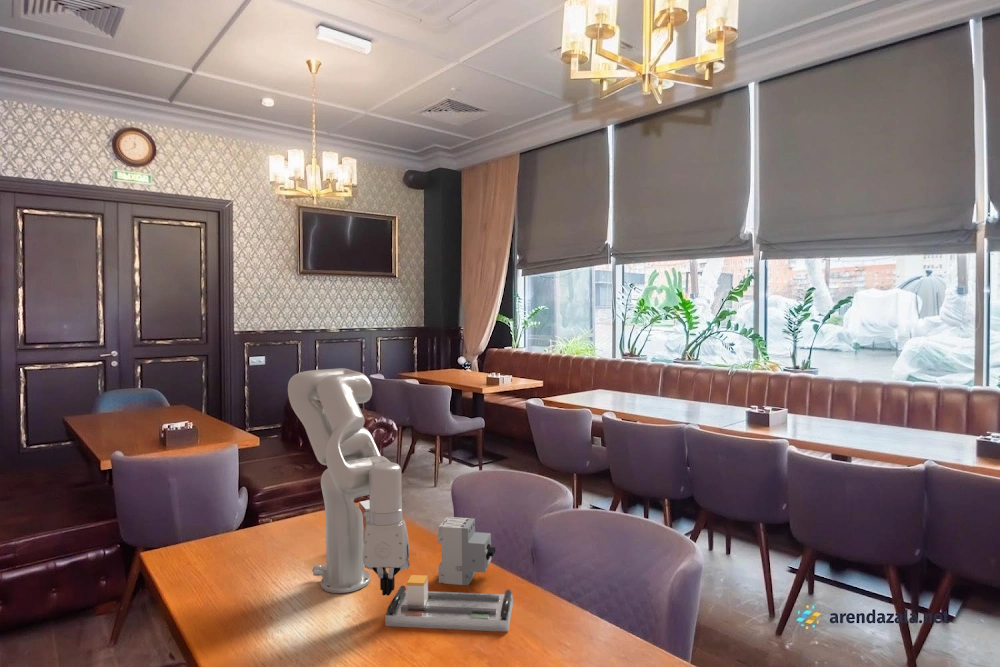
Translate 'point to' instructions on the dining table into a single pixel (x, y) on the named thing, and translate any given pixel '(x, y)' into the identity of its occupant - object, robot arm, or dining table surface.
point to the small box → (363, 507)
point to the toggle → (417, 590)
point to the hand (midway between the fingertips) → (387, 592)
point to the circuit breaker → (462, 551)
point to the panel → (452, 611)
